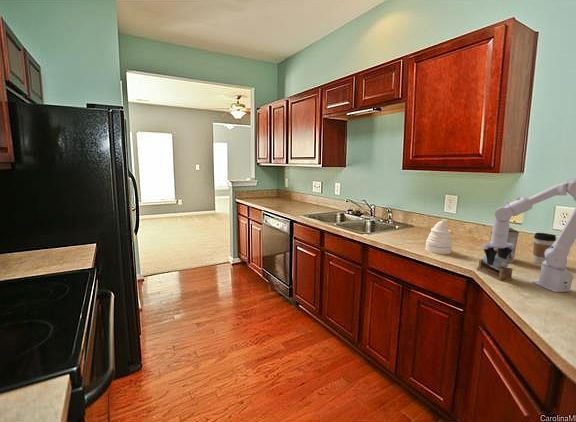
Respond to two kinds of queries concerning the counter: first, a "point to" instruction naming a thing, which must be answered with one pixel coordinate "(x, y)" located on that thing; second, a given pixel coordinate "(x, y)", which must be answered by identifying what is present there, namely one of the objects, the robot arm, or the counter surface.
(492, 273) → the roll cradle
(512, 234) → the coffee box
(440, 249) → the honey pot
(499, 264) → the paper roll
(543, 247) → the coffee cup
